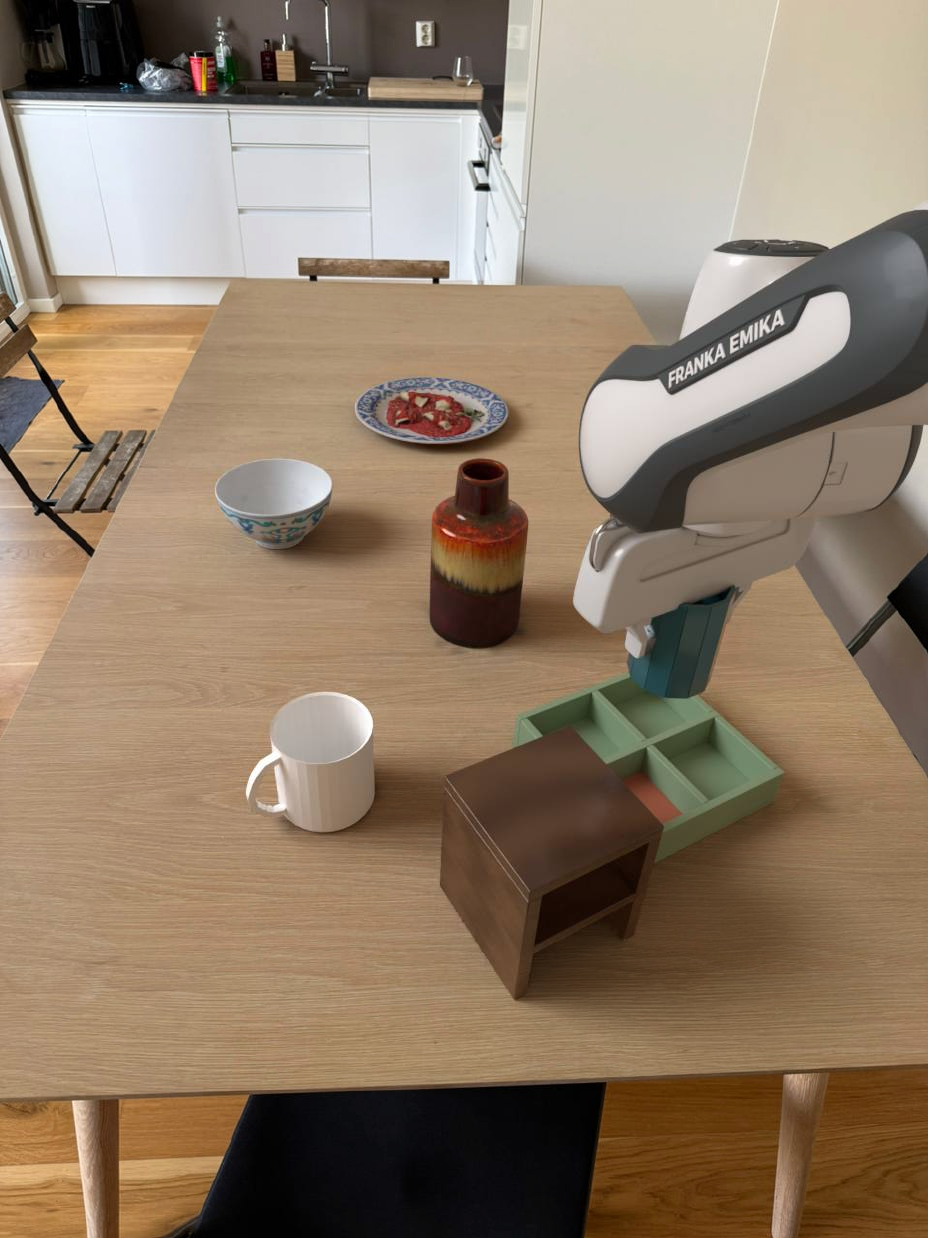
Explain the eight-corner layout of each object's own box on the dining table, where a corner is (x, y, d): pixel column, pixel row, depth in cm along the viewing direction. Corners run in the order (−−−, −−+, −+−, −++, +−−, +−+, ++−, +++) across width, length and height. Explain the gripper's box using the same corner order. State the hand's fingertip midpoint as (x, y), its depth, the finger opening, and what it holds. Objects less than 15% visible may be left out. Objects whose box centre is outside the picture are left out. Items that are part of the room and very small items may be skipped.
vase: (502, 588, 113) (515, 442, 100) (530, 641, 105) (548, 489, 92) (420, 599, 110) (422, 450, 98) (442, 654, 102) (447, 499, 89)
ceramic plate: (331, 439, 143) (330, 422, 141) (384, 380, 163) (384, 364, 161) (486, 465, 138) (487, 448, 137) (521, 401, 158) (523, 385, 156)
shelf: (634, 934, 74) (664, 826, 66) (514, 1000, 69) (530, 892, 61) (552, 833, 82) (570, 724, 74) (439, 885, 77) (444, 775, 69)
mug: (357, 751, 89) (354, 682, 84) (388, 817, 83) (387, 746, 77) (237, 785, 85) (226, 714, 80) (261, 857, 79) (249, 786, 73)
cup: (726, 682, 72) (753, 592, 66) (663, 708, 69) (686, 617, 63) (672, 636, 76) (693, 548, 71) (611, 659, 73) (628, 570, 68)
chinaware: (324, 571, 114) (320, 519, 109) (208, 562, 114) (199, 510, 110) (343, 511, 126) (341, 462, 121) (238, 503, 126) (232, 454, 122)
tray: (773, 802, 86) (785, 772, 84) (624, 878, 79) (632, 848, 76) (651, 689, 99) (658, 659, 96) (512, 745, 91) (515, 715, 88)
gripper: (627, 540, 55) (596, 702, 64) (850, 471, 64) (797, 622, 72) (568, 494, 60) (547, 652, 68) (785, 435, 68) (742, 582, 77)
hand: (677, 636), depth 70 cm, fingers closed on cup, 6 cm apart
